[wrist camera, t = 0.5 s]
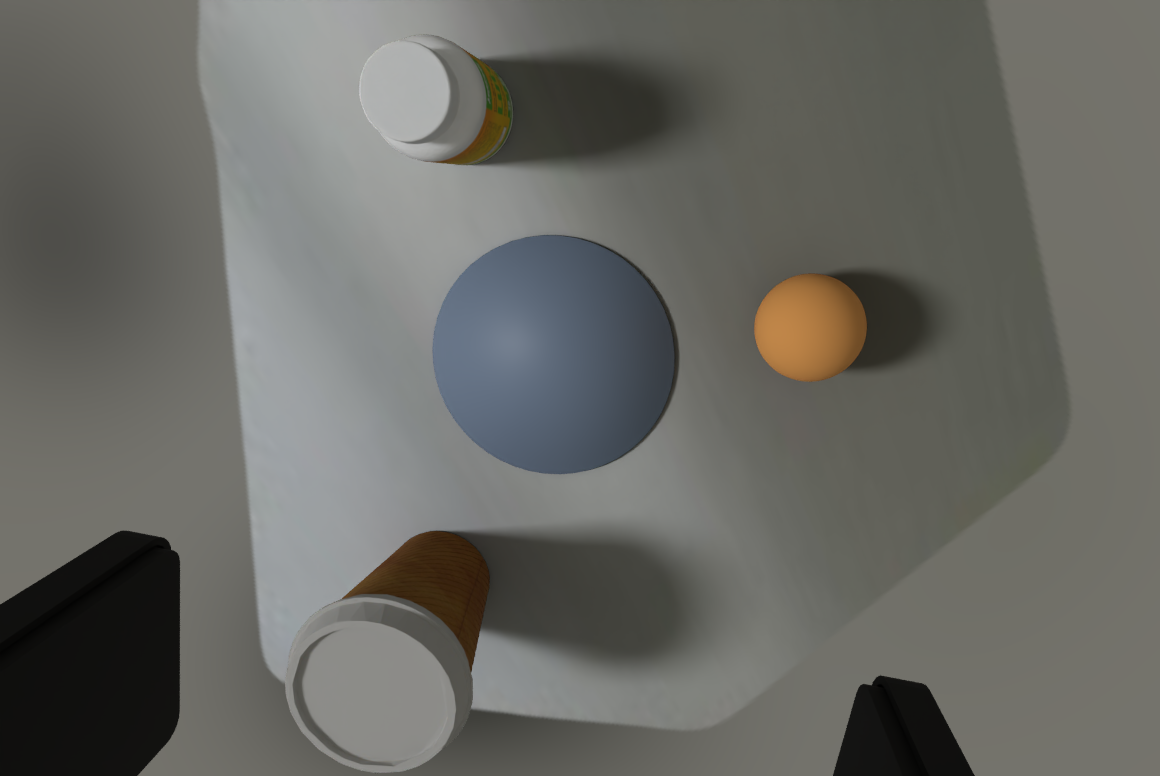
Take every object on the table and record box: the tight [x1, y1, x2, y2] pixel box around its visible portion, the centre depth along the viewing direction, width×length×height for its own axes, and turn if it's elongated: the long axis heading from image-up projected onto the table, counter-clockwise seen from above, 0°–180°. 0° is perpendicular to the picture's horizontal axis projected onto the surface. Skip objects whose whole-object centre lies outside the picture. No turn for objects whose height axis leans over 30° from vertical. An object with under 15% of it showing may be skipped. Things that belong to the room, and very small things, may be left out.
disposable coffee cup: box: [285, 531, 490, 773], centre depth 42 cm, size 10×10×12 cm
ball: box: [754, 274, 867, 382], centre depth 39 cm, size 6×6×6 cm
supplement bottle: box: [359, 35, 513, 165], centre depth 36 cm, size 5×5×10 cm
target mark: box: [433, 235, 675, 474], centre depth 43 cm, size 14×14×1 cm
